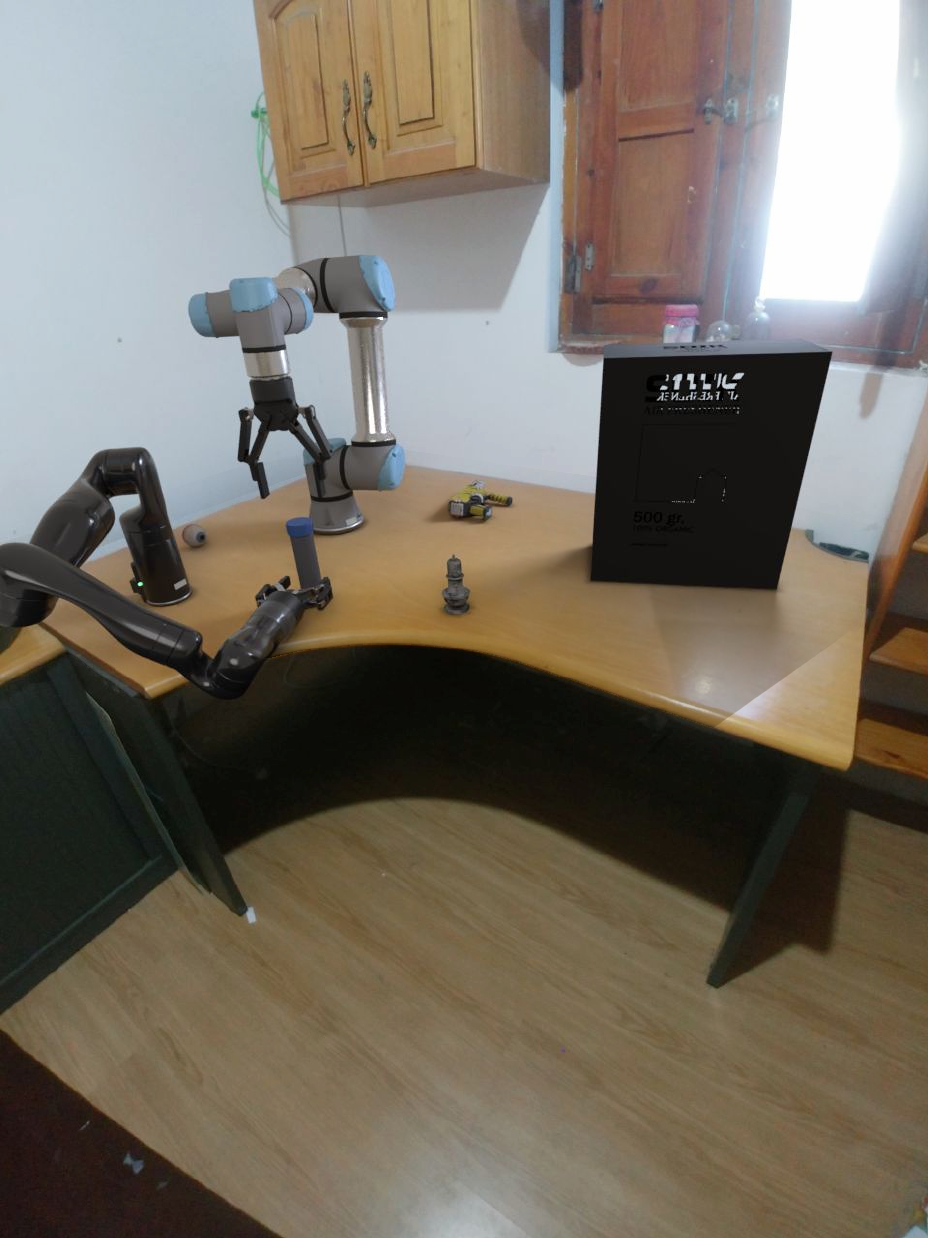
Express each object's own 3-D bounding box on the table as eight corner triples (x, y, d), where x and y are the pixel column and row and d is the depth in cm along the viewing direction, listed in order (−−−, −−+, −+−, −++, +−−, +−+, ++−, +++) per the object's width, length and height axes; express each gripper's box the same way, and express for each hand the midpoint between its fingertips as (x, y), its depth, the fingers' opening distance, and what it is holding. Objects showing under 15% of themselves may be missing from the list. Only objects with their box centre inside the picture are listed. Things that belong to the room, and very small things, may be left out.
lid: (300, 526, 125) (298, 515, 124) (319, 530, 123) (317, 519, 121) (282, 534, 121) (279, 523, 120) (300, 538, 119) (298, 527, 118)
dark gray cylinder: (314, 595, 133) (299, 518, 124) (329, 599, 131) (315, 521, 122) (299, 603, 129) (282, 525, 121) (314, 608, 127) (298, 529, 118)
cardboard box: (756, 549, 141) (800, 338, 118) (776, 589, 124) (832, 351, 101) (592, 544, 148) (604, 344, 126) (590, 580, 131) (603, 357, 109)
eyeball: (196, 552, 157) (189, 530, 154) (181, 548, 160) (174, 526, 157) (215, 543, 161) (209, 522, 158) (200, 540, 165) (193, 519, 162)
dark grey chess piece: (468, 615, 121) (465, 561, 115) (439, 614, 122) (435, 559, 116) (473, 601, 126) (471, 548, 120) (446, 600, 127) (442, 547, 121)
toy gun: (520, 484, 182) (474, 477, 186) (498, 508, 162) (446, 499, 166) (519, 500, 184) (473, 492, 188) (497, 524, 164) (445, 516, 168)
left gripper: (244, 634, 115) (279, 594, 129) (315, 637, 113) (343, 597, 127) (235, 599, 111) (272, 562, 125) (308, 602, 109) (338, 564, 123)
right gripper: (339, 370, 109) (356, 488, 120) (217, 376, 112) (244, 491, 123) (327, 377, 103) (346, 501, 114) (198, 382, 105) (229, 503, 116)
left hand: (308, 580), depth 126 cm, fingers open, 8 cm apart
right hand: (293, 496), depth 118 cm, fingers open, 11 cm apart
